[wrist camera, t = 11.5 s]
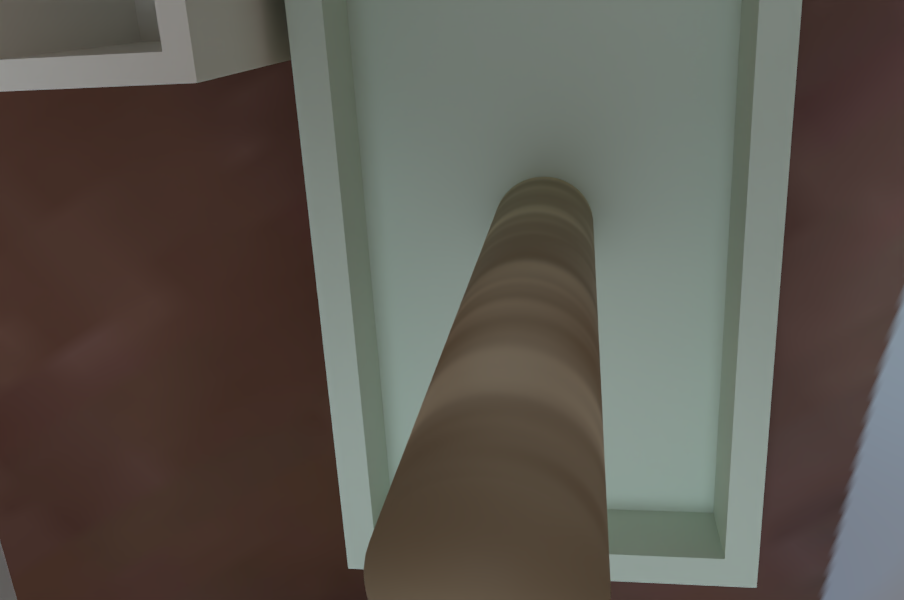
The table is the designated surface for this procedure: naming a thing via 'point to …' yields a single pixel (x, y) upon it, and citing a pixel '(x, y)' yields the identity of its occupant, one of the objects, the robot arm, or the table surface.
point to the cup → (136, 41)
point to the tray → (614, 220)
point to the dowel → (508, 426)
